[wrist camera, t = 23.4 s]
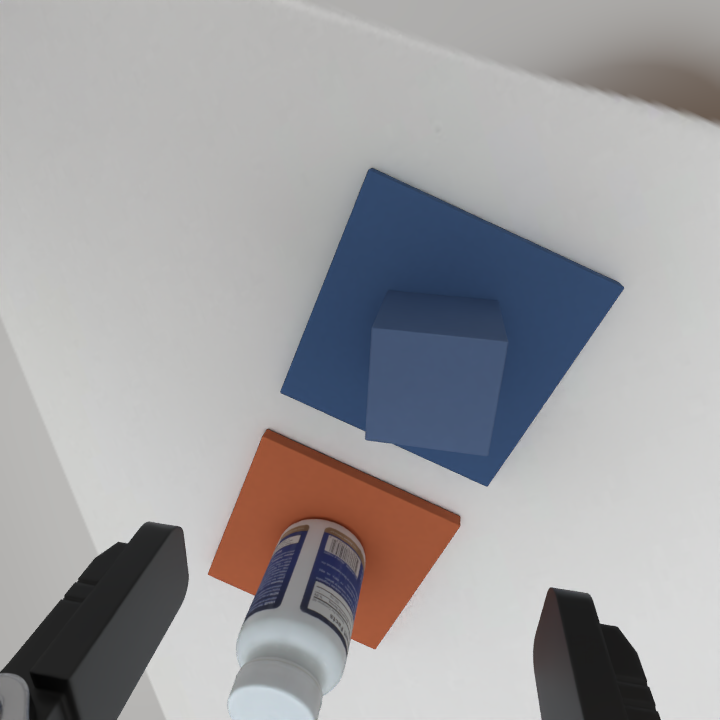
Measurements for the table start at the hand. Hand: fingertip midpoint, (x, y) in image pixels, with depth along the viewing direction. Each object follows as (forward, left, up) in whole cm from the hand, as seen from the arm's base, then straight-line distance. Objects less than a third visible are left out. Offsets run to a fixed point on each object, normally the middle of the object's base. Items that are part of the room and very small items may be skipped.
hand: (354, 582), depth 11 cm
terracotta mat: (+1, -15, -16) cm, 21 cm away
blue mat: (+1, 0, -16) cm, 16 cm away
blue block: (+1, 0, -15) cm, 15 cm away
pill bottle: (+1, -15, -15) cm, 21 cm away
